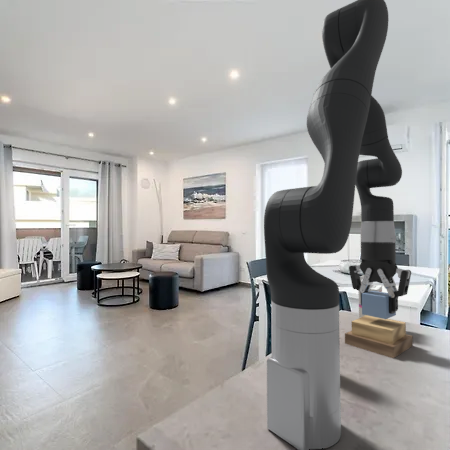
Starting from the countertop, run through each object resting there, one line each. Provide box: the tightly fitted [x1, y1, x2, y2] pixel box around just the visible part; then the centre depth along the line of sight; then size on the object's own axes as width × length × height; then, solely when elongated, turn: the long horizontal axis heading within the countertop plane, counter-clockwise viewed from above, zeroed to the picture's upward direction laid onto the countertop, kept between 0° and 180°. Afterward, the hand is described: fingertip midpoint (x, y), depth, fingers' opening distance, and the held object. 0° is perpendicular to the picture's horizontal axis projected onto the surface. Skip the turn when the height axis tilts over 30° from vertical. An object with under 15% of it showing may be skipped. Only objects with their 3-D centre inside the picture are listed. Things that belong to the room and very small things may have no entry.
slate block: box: [362, 291, 397, 319], centre depth 71 cm, size 6×6×5 cm
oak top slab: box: [351, 315, 407, 344], centre depth 71 cm, size 9×9×3 cm
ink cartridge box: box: [357, 274, 383, 319], centre depth 83 cm, size 9×5×15 cm, turn 144°
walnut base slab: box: [344, 330, 414, 359], centre depth 71 cm, size 11×11×3 cm
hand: (378, 310), depth 71 cm, fingers closed on slate block, 5 cm apart
